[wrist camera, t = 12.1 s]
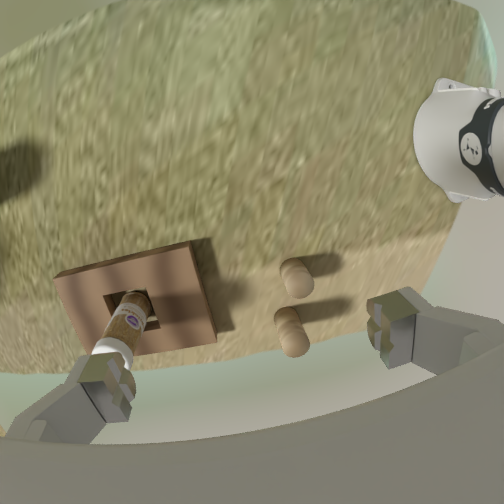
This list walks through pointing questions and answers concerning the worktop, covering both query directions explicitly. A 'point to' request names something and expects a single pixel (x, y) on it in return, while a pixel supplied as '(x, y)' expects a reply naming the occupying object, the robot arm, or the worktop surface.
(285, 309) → the medium beech dowel
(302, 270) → the short beech dowel
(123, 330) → the sprinkles bottle
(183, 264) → the walnut board
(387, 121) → the worktop surface
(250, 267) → the worktop surface
